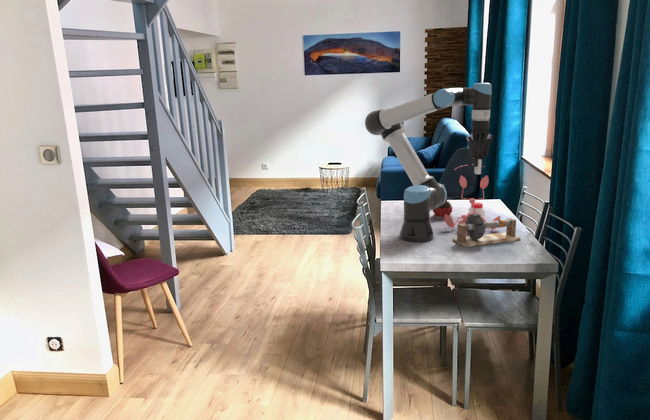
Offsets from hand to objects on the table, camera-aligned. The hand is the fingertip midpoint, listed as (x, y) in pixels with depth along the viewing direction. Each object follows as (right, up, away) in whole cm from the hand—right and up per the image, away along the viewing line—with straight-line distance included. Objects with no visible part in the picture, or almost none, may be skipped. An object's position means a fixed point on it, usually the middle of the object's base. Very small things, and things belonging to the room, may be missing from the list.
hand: (477, 173), depth 232 cm
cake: (-6, -20, +45) cm, 49 cm away
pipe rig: (+5, -30, +4) cm, 30 cm away
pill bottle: (+7, -24, +28) cm, 37 cm away
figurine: (+7, +3, +30) cm, 31 cm away
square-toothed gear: (-1, -29, +2) cm, 29 cm away
